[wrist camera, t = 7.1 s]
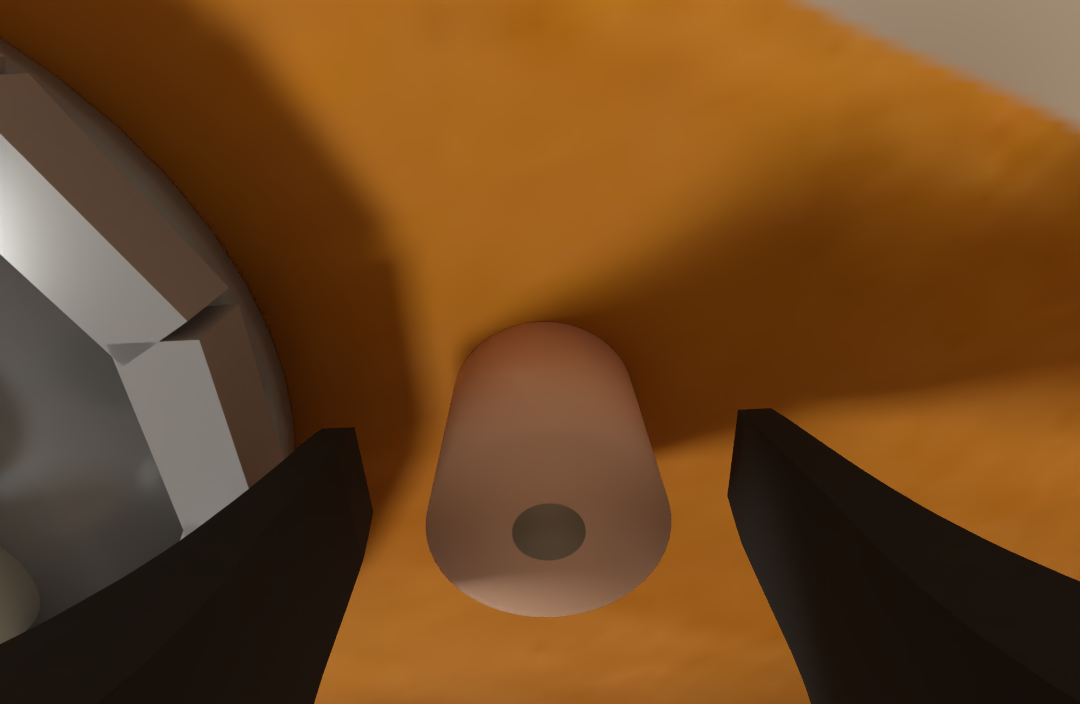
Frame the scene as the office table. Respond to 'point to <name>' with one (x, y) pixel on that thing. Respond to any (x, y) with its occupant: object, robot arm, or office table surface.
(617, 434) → the bead terracotta
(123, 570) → the tray
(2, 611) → the bead cream
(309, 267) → the office table surface
